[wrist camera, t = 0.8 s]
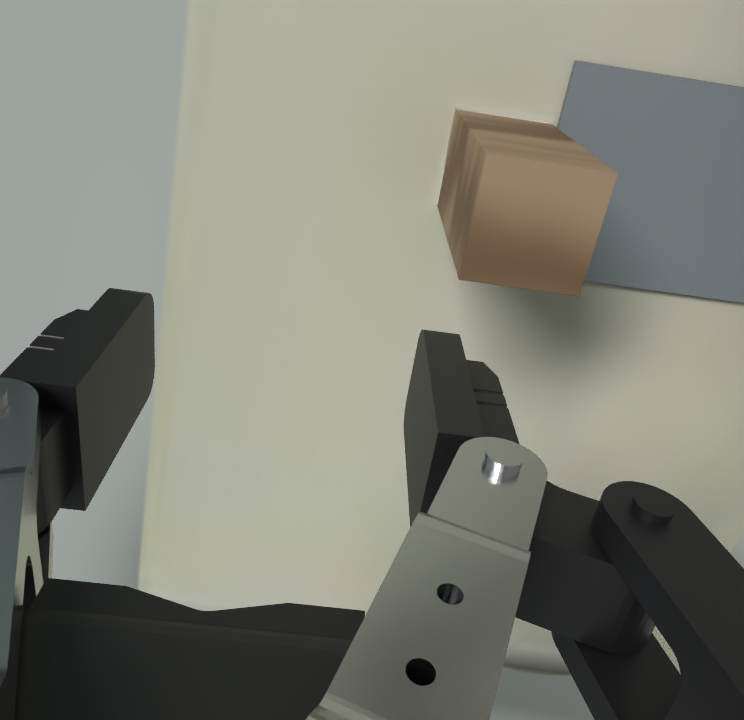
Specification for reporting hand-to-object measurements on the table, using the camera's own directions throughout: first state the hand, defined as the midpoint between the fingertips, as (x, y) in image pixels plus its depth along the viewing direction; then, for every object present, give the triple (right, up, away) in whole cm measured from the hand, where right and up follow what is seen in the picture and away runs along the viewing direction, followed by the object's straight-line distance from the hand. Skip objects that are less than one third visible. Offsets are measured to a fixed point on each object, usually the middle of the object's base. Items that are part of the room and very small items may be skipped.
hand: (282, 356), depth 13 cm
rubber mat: (+16, +8, +20) cm, 27 cm away
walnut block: (+7, +9, +19) cm, 23 cm away
